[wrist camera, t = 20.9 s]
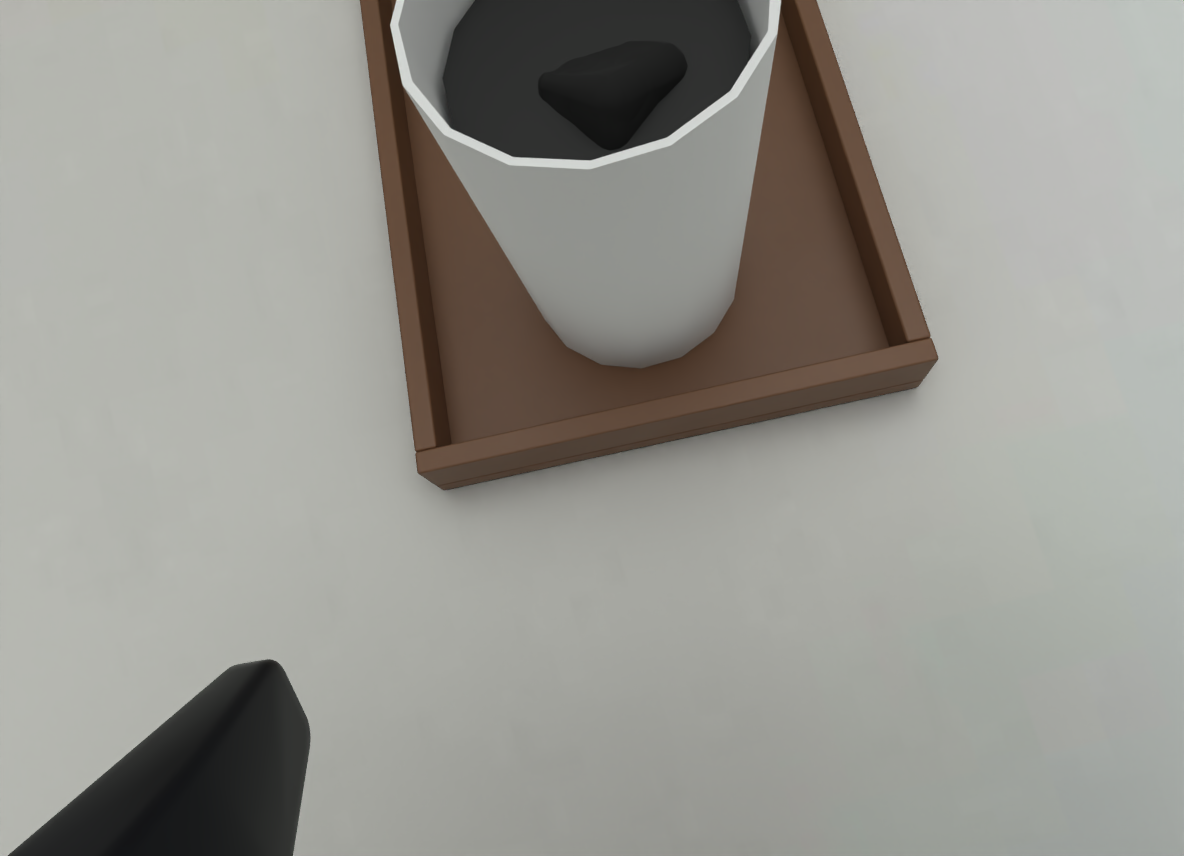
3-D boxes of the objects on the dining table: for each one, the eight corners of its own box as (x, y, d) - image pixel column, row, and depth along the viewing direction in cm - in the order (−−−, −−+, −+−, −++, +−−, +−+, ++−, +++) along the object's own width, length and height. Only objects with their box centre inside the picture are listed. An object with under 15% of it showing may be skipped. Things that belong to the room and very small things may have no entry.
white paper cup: (804, 255, 22) (872, -47, 13) (645, 432, 22) (593, 249, 12) (626, 131, 24) (571, -209, 15) (473, 290, 24) (313, 35, 14)
